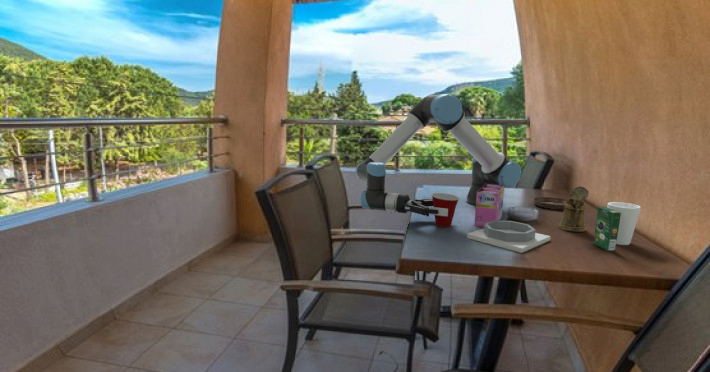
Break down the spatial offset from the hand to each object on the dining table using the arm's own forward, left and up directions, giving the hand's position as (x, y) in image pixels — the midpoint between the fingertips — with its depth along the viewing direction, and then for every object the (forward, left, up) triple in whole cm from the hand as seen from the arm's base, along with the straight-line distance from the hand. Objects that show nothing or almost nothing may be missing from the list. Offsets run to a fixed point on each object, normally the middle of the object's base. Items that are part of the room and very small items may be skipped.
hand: (451, 208), depth 158 cm
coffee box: (-18, +48, -7) cm, 51 cm away
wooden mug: (-31, +33, -7) cm, 46 cm away
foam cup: (-29, +49, -7) cm, 57 cm away
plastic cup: (+1, -2, -7) cm, 8 cm away
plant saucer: (-67, +10, -7) cm, 68 cm away
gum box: (-20, +5, -7) cm, 22 cm away
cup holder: (-2, +23, -7) cm, 24 cm away
